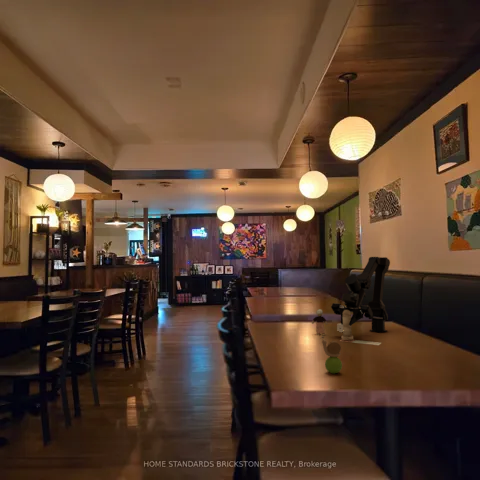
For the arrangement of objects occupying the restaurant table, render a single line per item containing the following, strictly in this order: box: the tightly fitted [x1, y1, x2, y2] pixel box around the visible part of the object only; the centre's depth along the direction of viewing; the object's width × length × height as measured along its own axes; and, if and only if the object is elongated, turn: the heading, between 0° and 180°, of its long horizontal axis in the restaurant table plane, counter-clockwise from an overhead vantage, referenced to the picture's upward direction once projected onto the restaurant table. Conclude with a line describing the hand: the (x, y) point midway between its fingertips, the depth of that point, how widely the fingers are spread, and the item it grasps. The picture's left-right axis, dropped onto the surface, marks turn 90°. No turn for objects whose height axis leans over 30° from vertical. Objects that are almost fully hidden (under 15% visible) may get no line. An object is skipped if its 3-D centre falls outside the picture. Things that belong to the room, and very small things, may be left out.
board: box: [339, 338, 382, 346], centre depth 172 cm, size 18×7×1 cm, turn 57°
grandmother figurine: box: [311, 309, 329, 336], centre depth 192 cm, size 8×4×13 cm, turn 84°
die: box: [336, 322, 343, 333], centre depth 200 cm, size 4×4×4 cm
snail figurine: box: [321, 335, 343, 375], centre depth 126 cm, size 5×6×12 cm
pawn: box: [341, 310, 354, 340], centre depth 175 cm, size 5×5×13 cm
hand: (345, 324), depth 174 cm, fingers closed on pawn, 4 cm apart
